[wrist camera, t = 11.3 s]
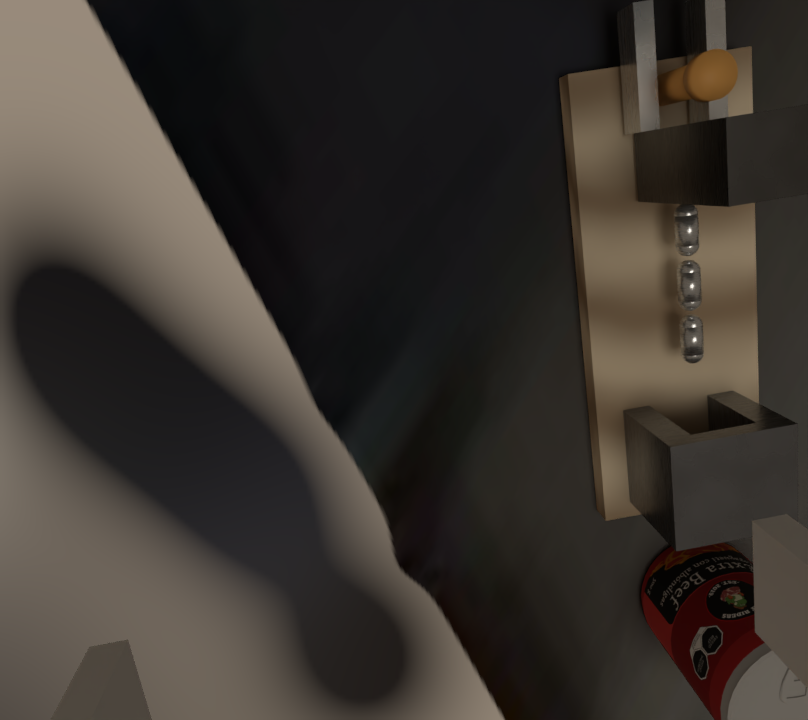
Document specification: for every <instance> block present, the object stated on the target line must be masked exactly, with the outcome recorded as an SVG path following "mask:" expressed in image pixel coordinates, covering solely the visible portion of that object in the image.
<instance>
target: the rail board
mask: <svg viewBox="0 0 808 720" xmlns="http://www.w3.org/2000/svg"><path fill="white" fill-rule="evenodd" d="M726 51H727V52H729V53H730V54H731V55H732V56H733V57H734V59H735V61H736V63H737V67H738V76H737V81H736V83H735V86H734V87H733V89H732V90H731V92H730V93H729V94H728V117H731V116H737V115H744V114H750V113H753V95H752V47H751V46H750V47H743V48H737V49H730V50H726ZM656 64H657V75H660V74H663V73H666V72H668V71H671V70H674V69H677V68H680V67H683V66H686V65H687V56H684V57H678V58H671V59H664V60H658V61H656ZM559 85H560V97H561V108H562V119H563V131H564V142H565V153H566V165H567V176H568V187H569V198H570V210H571V221H572V232H573V244H574V255H575V266H576V278H577V289H578V300H579V312H580V323H581V334H582V346H583V357H584V368H585V380H586V391H587V402H588V414H589V425H590V436H591V448H592V459H593V470H594V482H595V493H596V504H597V510H598V512H599V513H600V514H601V515H602V517H603V518H604V519H605V520H606V521H608V520H613V519H618V518H624V517H629V516H634V515H640V514H641V513H640V512H639V511H638V510H637V509H636V508H635V507H634V506H633V504H632V503H631V502H630V497H629V484H628V471H627V457H626V444H625V430H624V417H623V410H627V409H633V408H638V407H644V406H650V407H652V408H653V409H655V410H656V411H658V412H659V413H660V414H662V415H663V416H665V417H666V418H668V419H669V420H670V421H672V422H673V423H675V424H676V425H677V426H679V427H680V428H682V429H683V430H685V431H686V432H687V433H689V434H690V435H693V434H698V433H704V432H709V425H708V401H707V395H710V394H716V393H722V392H727V391H735V392H737V393H739V394H741V395H743V396H745V397H747V398H749V399H750V400H752V401H754V402H756V403H758V404H759V384H758V336H757V288H756V239H755V203H749V204H743V205H737V206H731V207H722V206H704V205H694V206H696V208H697V210H698V216H699V240H700V246H699V249H698V251H697V252H696V253H695V254H693V255H691V256H682V255H680V254H679V253H678V252H677V250H676V247H675V229H674V212H675V210H676V208H677V207H678V206H679V205H681V204H666V203H648V202H638V190H637V174H636V158H635V142H634V134H627V135H625V129H624V114H623V99H622V84H621V69H620V66H618V67H612V68H605V69H599V70H592V71H586V72H579V73H572V74H567V75H565V76H563V77H561V78H559ZM659 120H660V129H662V128H668V127H673V126H679V125H685V124H690V114H689V100H686V101H682V102H678V103H673V104H669V105H665V106H659ZM685 260H694V261H696V262H697V263H698V264H699V265H700V268H701V288H702V303H701V305H700V306H699V308H697V309H696V310H693V311H686V310H684V309H682V308H681V307H680V305H679V303H678V289H677V267H678V265H679V264H680V263H681V262H683V261H685ZM688 314H695V315H697V316H699V317H700V318H701V319H702V322H703V336H704V356H703V358H702V360H701V361H699V362H698V363H694V364H690V363H687V362H685V361H684V360H683V358H682V357H681V348H680V328H679V324H680V321H681V319H682V318H683V317H684V316H685V315H688Z"/></svg>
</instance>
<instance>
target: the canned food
mask: <svg viewBox="0 0 808 720" xmlns="http://www.w3.org/2000/svg"><path fill="white" fill-rule="evenodd" d="M641 599H642V607H643V611H644V615H645V618H646V621H647V623H648V625H649V626H650V628H651V630H652V631H653V633H654V634H655V635H656V637H657V638H658V640H659V641H660V643H661V644H662V645H663V647H664V648H665V650H666V651H667V653H668V654H669V655H670V657H671V658H672V660H673V661H674V663H675V664H676V665H677V667H678V668H679V670H680V671H681V672H682V674H683V675H684V677H685V678H686V680H687V681H688V682H689V684H690V685H691V687H692V688H693V690H694V691H695V692H696V694H697V695H698V697H699V698H700V700H701V701H702V702H703V704H704V705H705V707H706V708H707V710H708V711H709V712H710V714H711V715H712V717H713V718H714V720H808V688H807V687H806V686H805V685H804V684H803V683H802V682H801V681H800V680H799V679H798V677H797V676H796V675H795V674H794V673H793V672H792V671H791V670H790V669H789V668H788V667H787V666H786V665H785V664H784V663H783V661H782V660H781V659H780V658H779V657H778V656H777V655H776V654H775V653H774V652H773V651H772V650H771V649H770V648H769V647H768V645H767V644H766V643H765V642H764V641H763V640H762V639H761V638H760V637H759V636H758V635H757V634H756V633H755V613H754V572H753V563H752V562H750V561H749V560H748V559H747V558H746V557H745V556H744V555H743V554H742V553H740V552H739V551H738V550H736V549H735V548H733V547H732V546H730V545H728V544H725V543H718V544H712V545H707V546H702V547H697V548H691V549H686V550H681V551H675V550H674V549H673V547H672V546H671V547H669V548H668V549H666V550H665V551H663V552H662V553H661V554H660V555H659V556H658V557H657V558H656V559H655V560H654V562H653V563H652V564H651V566H650V567H649V569H648V571H647V573H646V575H645V578H644V581H643V584H642V591H641Z"/></svg>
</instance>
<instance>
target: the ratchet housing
mask: <svg viewBox="0 0 808 720" xmlns="http://www.w3.org/2000/svg"><path fill="white" fill-rule="evenodd" d="M707 401H708V425H709V432H704V433H698V434H693V435H690V434H689V433H687V432H686V431H685V430H683V429H682V428H680V427H679V426H677V425H676V424H675V423H673V422H672V421H670V420H669V419H668V418H666V417H665V416H663V415H662V414H660V413H659V412H658V411H656V410H655V409H653V408H652V407H650V406H644V407H638V408H633V409H627V410H623V417H624V430H625V444H626V457H627V471H628V484H629V497H630V502H631V503H632V504H633V506H634V507H635V508H636V509H637V510H638V511H639V512H640V513H641V514H642V515H643V516H644V517H645V518H646V520H647V521H648V522H649V523H650V524H651V525H652V526H653V527H654V528H655V529H656V530H657V531H658V532H659V533H660V535H661V536H662V537H663V538H664V539H665V540H666V541H667V542H668V543H669V544H670V545H671V546H672V547H673V549H674V550H675V551H681V550H686V549H691V548H697V547H702V546H707V545H712V544H718V543H723V542H728V541H733V540H738V539H744V538H749V537H753V532H752V521H753V520H758V519H764V518H769V517H774V516H779V515H785V514H787V515H789V516H790V517H791V518H793V519H794V520H796V521H797V522H798V424H797V423H795V422H793V421H791V420H789V419H787V418H785V417H783V416H782V415H780V414H778V413H776V412H774V411H772V410H770V409H768V408H766V407H764V406H762V405H760V404H758V403H756V402H754V401H752V400H750V399H749V398H747V397H745V396H743V395H741V394H739V393H737V392H735V391H727V392H722V393H716V394H710V395H707Z"/></svg>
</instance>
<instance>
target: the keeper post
mask: <svg viewBox="0 0 808 720" xmlns="http://www.w3.org/2000/svg"><path fill="white" fill-rule="evenodd" d="M737 76H738V67H737V63H736V61H735V59H734V57H733V56H732V55H731V54H730V53H729V52H727V51H725V50H722V49H712V50H709V51H706V52H703V53H700V54H698V55H696V56H695V57H693V58H692V59H691V60H690V62H689V63H688V64H687V65H686V66H683V67H680V68H677V69H674V70H671V71H668V72H666V73H663V74H660V75H657V82H658V101H659V106H665V105H669V104H673V103H678V102H682V101H686V100H690V99H693V100H695V101H698V102H709V101H714V100H718V99H721V98H723V97H725V96H726V95H727V94H729V93H730V92H731V90H732V89H733V87H734V86H735V83H736V81H737Z"/></svg>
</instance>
